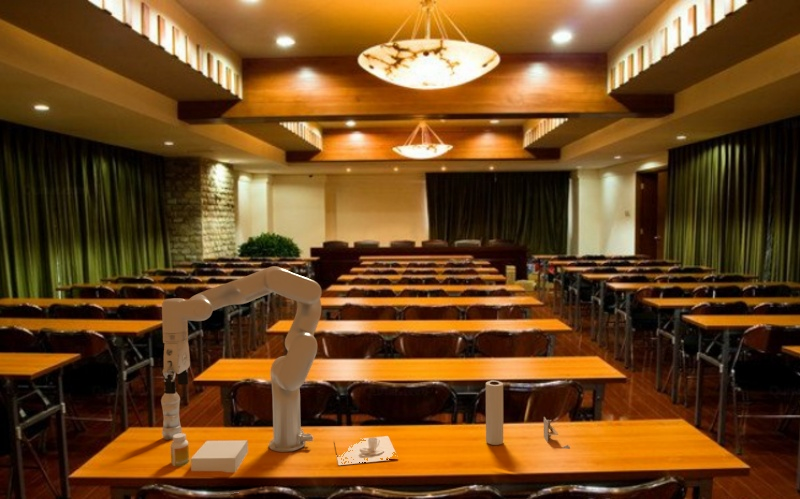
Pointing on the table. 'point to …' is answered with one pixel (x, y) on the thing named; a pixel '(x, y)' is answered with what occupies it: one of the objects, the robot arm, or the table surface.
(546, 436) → the architectural model
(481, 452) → the table surface
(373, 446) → the teacup and saucer
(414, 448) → the table surface
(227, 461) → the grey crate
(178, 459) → the supplement bottle
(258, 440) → the table surface
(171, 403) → the plastic bottle
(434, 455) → the table surface
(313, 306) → the robot arm
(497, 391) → the paper towel roll
